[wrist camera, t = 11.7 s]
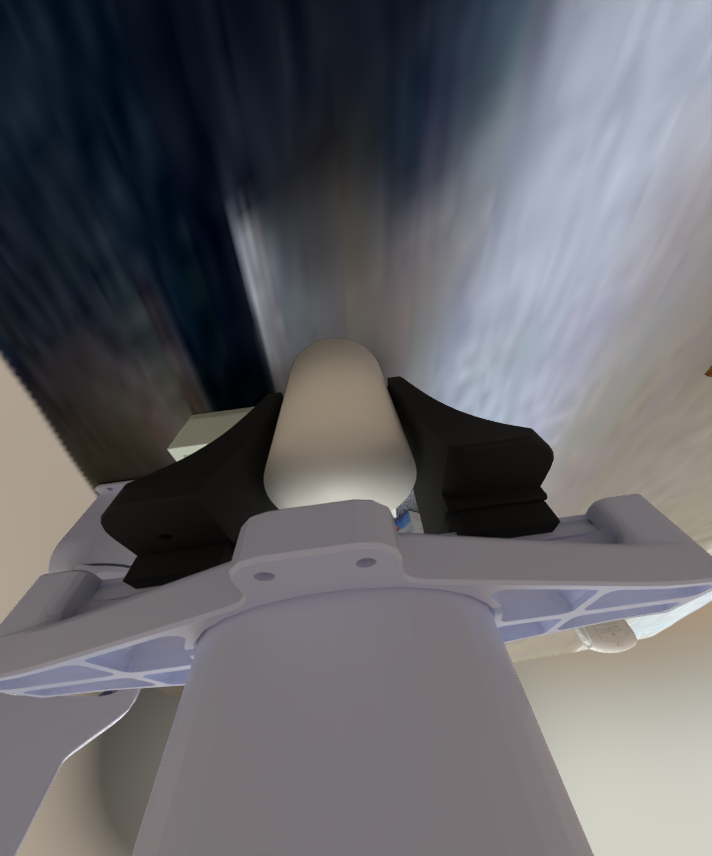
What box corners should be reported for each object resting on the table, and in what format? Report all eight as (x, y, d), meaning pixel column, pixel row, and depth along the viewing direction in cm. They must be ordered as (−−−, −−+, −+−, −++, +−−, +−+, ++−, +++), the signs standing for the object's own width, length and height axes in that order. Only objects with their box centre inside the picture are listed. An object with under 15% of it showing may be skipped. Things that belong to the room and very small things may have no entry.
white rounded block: (545, 589, 61) (587, 657, 51) (554, 581, 58) (599, 652, 49) (586, 584, 61) (635, 651, 52) (596, 577, 59) (649, 646, 49)
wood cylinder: (302, 425, 15) (287, 534, 10) (278, 345, 12) (237, 438, 7) (383, 414, 16) (413, 516, 10) (379, 331, 12) (420, 413, 7)
